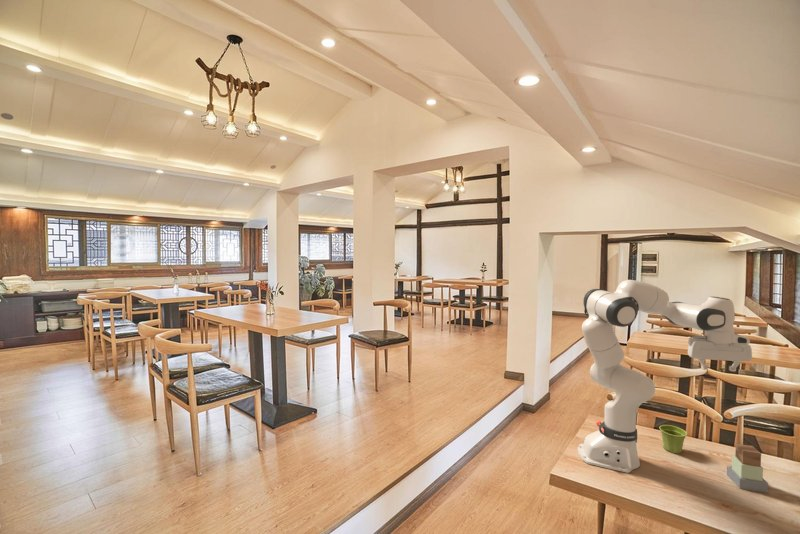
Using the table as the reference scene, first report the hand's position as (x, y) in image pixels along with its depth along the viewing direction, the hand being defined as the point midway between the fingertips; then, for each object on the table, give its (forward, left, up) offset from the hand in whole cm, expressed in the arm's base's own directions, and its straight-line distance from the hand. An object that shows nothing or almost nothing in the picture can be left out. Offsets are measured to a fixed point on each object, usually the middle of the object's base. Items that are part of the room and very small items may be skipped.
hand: (718, 370), depth 143 cm
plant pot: (-14, +3, -37) cm, 40 cm away
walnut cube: (+2, -16, -28) cm, 33 cm away
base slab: (+2, -15, -38) cm, 41 cm away
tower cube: (+2, -16, -34) cm, 37 cm away
